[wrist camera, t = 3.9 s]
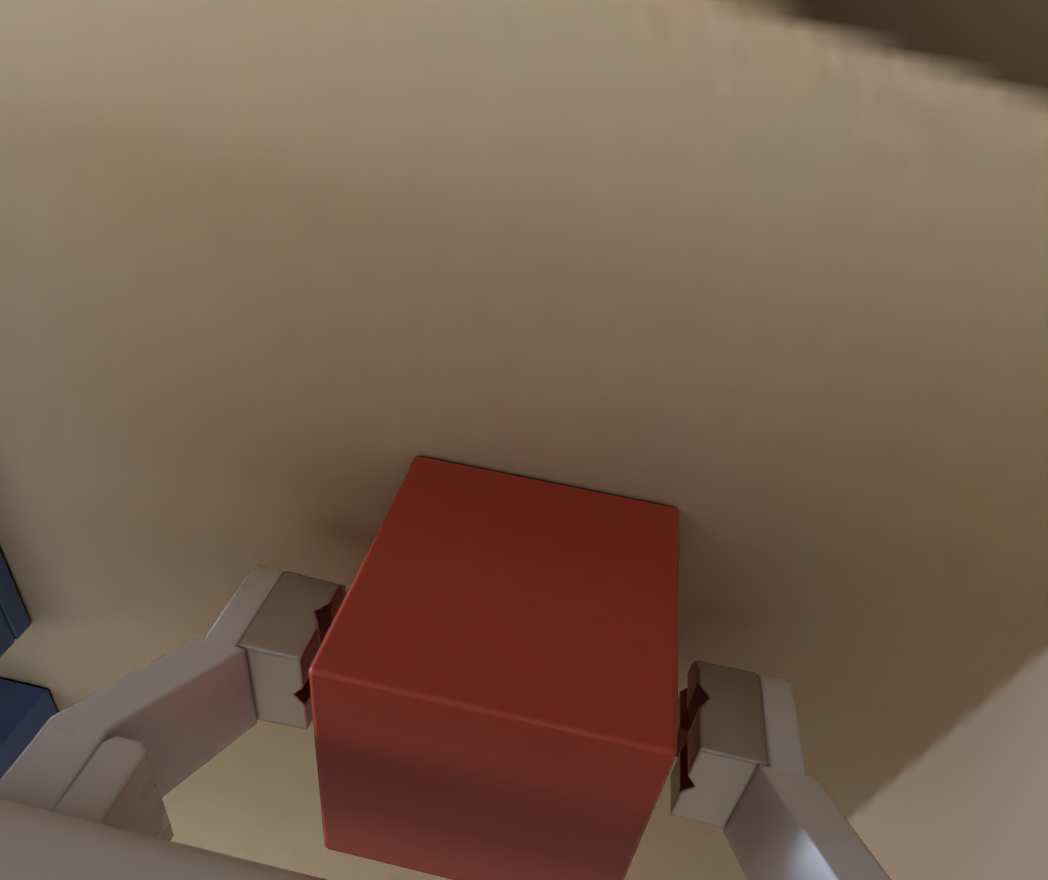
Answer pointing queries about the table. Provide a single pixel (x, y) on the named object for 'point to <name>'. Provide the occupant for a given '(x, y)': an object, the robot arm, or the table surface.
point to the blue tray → (10, 610)
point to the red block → (501, 680)
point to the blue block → (21, 718)
